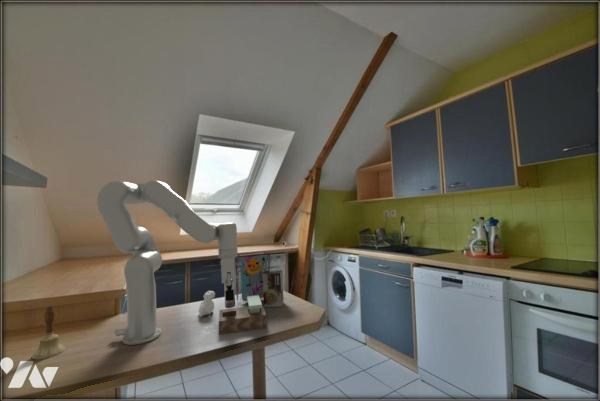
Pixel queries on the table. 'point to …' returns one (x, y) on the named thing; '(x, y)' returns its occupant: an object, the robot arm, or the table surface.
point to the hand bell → (49, 339)
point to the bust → (207, 304)
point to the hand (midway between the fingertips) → (229, 298)
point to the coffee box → (273, 288)
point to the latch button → (254, 304)
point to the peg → (231, 303)
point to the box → (251, 275)
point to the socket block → (240, 320)
